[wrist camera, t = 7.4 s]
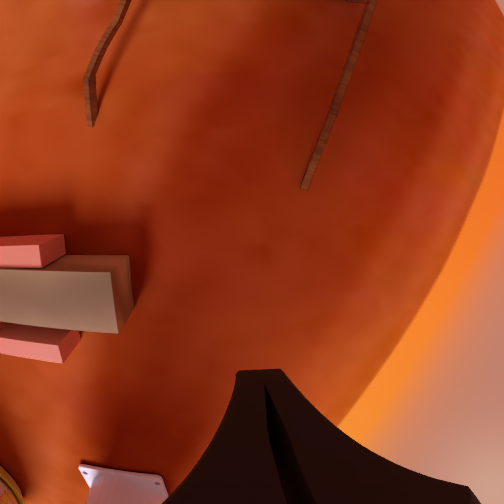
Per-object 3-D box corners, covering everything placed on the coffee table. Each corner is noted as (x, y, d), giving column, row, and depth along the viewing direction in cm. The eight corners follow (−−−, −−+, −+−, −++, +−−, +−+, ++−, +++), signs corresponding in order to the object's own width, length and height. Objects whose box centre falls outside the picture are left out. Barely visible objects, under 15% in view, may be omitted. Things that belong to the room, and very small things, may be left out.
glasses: (362, 7, 15) (396, -28, 10) (305, 190, 18) (335, 197, 13) (167, -47, 13) (156, -92, 8) (86, 127, 16) (43, 114, 11)
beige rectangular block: (135, 306, 18) (118, 333, 15) (18, 299, 17) (-10, 319, 14) (130, 254, 17) (110, 272, 14) (10, 253, 17) (-21, 268, 13)
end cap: (80, 339, 18) (62, 363, 15) (8, 331, 18) (-14, 350, 15) (63, 233, 16) (38, 245, 14) (-12, 237, 16) (-39, 247, 13)
